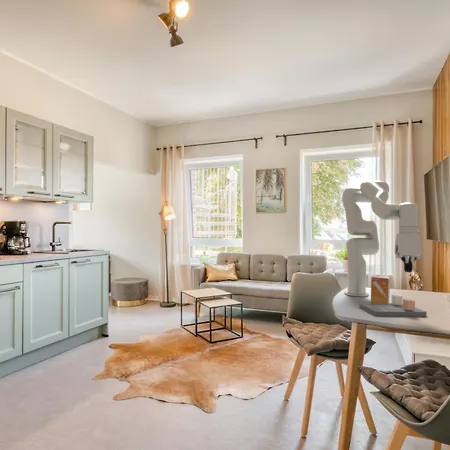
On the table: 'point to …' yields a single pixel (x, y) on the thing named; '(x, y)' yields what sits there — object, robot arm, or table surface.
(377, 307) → the plate
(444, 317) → the table surface
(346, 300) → the table surface
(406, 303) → the block
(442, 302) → the table surface
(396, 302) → the cream fader
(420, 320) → the table surface
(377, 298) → the small box
